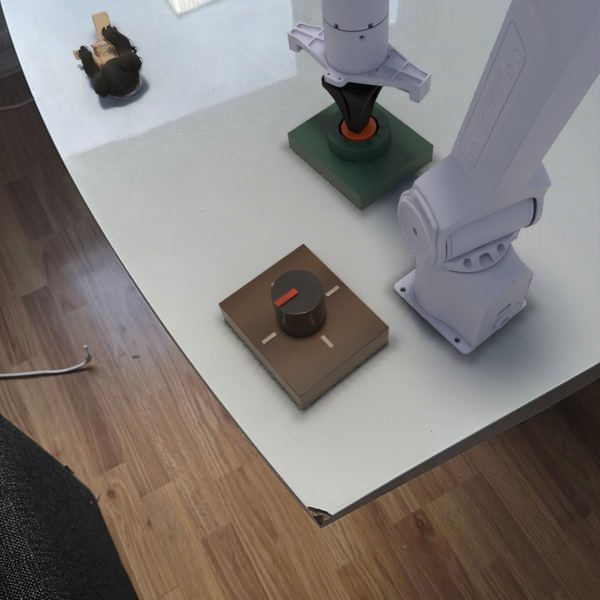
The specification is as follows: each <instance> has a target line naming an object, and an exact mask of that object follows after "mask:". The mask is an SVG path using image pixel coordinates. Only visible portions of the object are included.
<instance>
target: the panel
mask: <svg viewBox="0 0 600 600" xmlns="http://www.w3.org/2000/svg"><path fill="white" fill-rule="evenodd" d="M292 270H305V271H309V272H311V273H313V274H314V275H316V276H317V277H318V278H319V280H320V281H321V283H322V286H323V292H324V300H325V307H326V319H325V322H324V323H323V325H322V327H321V328H320V329H319V330H318V331H316V332H315V333H313V334H311V335H308V336H302V337H301V336H293V335H290V334H288V333H286V332H285V331H284V330H283V329H282V328H281V327H280V326H279V324H278V321H277V317H276V314H275V310H274V306H273V302H272V298H271V289H272V286H273V284H274V282H275V281H276V279H277V278H278V277H280V276H281V275H282V274H284V273H286V272H288V271H292ZM218 306H219V309H220V312H221V314H222V317H223V319H224V321H225V322H226V324H228V325H229V326H230V328H231V329H232V330H233V331H234V332H235V333H236V335H237V336H238V337H239V338H240V339H241V340H242V342H243V343H244V344H245V345H246V346H247V347H248V349H249V350H250V351H251V352H252V354H253V355H254V356H255V357H256V358H257V359H258V360H259V361H260V362H261V364H262V365H263V366H264V368H266V370H267V371H268V372H269V373H270V374H271V375H272V376H273V378H274V379H275V380H276V381H277V382H278V383H279V385H280V386H281V387H282V389H284V391H285V392H286V393H287V394H288V395H289V397H290V398H291V399H292V400H293V401H294V403H296V404H297V405H298V407H299V408H300V409H301V410H305V409H306V408H307V407H309V406H310V405H311V404H313V403H314V402H315V401H316V400H318V399H319V398H320V397H321V396H323V394H325V393H326V392H327V391H329V390H330V389H331V388H333V387H334V386H335V385H336V384H338V383H339V382H340V381H341V380H343V379H344V378H345V377H347V376H348V375H349V374H350V373H352V372H353V371H354V370H355V369H356V368H358V367H359V366H360V365H362V364H363V363H364V362H366V361H367V360H368V359H369V358H371V357H372V356H373V355H374V354H376V353H377V352H378V351H380V349H382V348H383V347H384V346H386V345H387V344H388V343H389V336H390V327H389V325H388V324H386V322H385V321H384V320H383V319H381V318H380V317H379V315H377V314H376V313H375V312H374V310H372V308H370V307H369V306H368V305H367V304H366V303H365V302H364V301H363V300H362V299H361V298H360V297H359V296H358V295H357V294H356V293H355V292H353V290H352V289H350V287H349V286H347V284H345V283H344V281H342V280H341V278H339V276H337V274H336V273H334V271H332V270H331V269H330V268H329V267H328V266H327V265H326V264H325V263H324V262H323V261H322V260H321V259H320V258H319V257H318V256H317V255H316V254H315V253H314V252H313V251H312V250H311V249H310V248H309V247H308V246H307V245H306V244H305V243H302V244H300V245H298V246H297V247H296V248H295V249H293V250H292V251H290V252H289V253H288V254H286V255H285V256H283V257H282V258H281V259H279V260H278V261H277V262H275V263H274V264H271V266H269V267H268V268H266V269H265V270H264V271H262V272H260V274H258V275H257V276H255V277H254V278H253V279H251V280H249V281H248V282H247V283H246V284H244V285H243V286H241V287H240V288H238V289H237V290H235V291H234V292H233V293H231V294H230V295H228V296H227V297H226V298H224V299H223V300H221V301H220V302H219V303H218Z"/></svg>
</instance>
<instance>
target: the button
mask: <svg viewBox="0 0 600 600" xmlns="http://www.w3.org/2000/svg"><path fill="white" fill-rule="evenodd" d="M341 133H342V136H343V137H344V138H345V139H346V140H349V141H354V142H361V141H367V140H369V139H371V138H372V137H373V136H375V135H376V123H375V121H374V119H373V118H371V117H370V121H369V124H368V125H367V126H366V127H365V128H364V129H363V130H362V132H361V133H360V134H356V133H354V132H352V131H350V130H348V128H347V126H346V123H345V121H343V123H342V125H341Z"/></svg>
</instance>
